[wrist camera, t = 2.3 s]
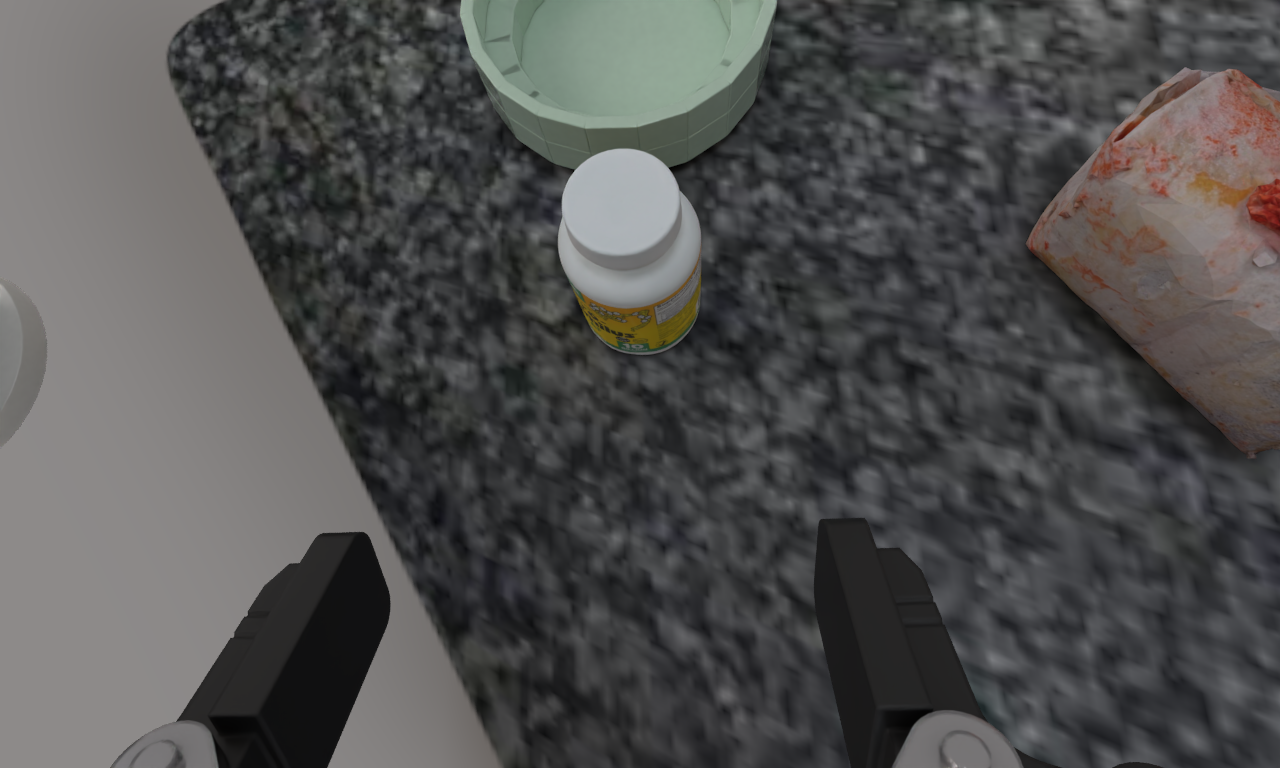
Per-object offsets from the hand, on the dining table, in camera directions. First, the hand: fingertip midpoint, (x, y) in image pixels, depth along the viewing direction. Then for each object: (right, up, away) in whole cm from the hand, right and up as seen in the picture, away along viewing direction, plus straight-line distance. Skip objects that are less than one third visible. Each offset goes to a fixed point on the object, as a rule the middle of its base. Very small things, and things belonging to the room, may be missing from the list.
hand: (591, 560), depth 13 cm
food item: (+24, +7, +19) cm, 31 cm away
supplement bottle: (+1, +7, +20) cm, 21 cm away
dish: (0, +20, +23) cm, 31 cm away
